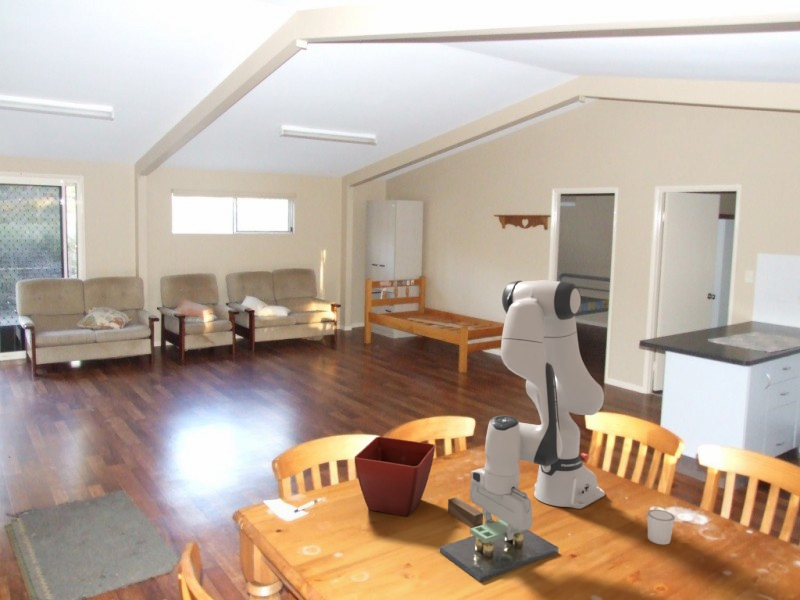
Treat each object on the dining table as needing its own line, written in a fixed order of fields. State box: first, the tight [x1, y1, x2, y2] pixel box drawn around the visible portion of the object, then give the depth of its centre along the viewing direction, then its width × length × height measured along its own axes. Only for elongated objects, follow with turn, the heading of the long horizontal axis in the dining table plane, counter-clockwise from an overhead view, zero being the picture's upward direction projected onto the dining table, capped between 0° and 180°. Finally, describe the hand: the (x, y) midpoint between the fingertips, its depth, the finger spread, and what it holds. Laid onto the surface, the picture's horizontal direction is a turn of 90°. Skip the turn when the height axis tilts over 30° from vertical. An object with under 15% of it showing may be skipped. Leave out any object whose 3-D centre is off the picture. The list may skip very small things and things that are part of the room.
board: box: [469, 519, 522, 543], centre depth 170 cm, size 14×6×1 cm, turn 123°
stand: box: [447, 496, 484, 529], centre depth 189 cm, size 3×12×4 cm, turn 33°
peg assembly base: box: [439, 529, 559, 583], centre depth 170 cm, size 26×16×6 cm, turn 123°
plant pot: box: [354, 436, 436, 517], centre depth 196 cm, size 19×19×17 cm
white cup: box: [646, 509, 675, 545], centre depth 179 cm, size 7×7×7 cm
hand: (499, 532), depth 170 cm, fingers closed on board, 6 cm apart
